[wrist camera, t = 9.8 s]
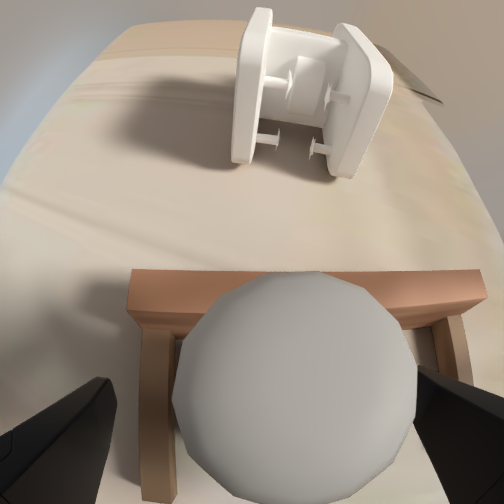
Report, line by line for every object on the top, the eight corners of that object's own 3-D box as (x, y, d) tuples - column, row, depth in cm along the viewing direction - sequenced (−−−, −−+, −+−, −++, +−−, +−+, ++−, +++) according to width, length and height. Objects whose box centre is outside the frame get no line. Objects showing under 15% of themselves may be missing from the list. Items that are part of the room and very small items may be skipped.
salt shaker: (196, 453, 13) (124, 564, 2) (190, 357, 16) (118, 216, 5) (301, 444, 14) (478, 487, 2) (291, 351, 16) (422, 216, 5)
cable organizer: (246, 91, 31) (255, 2, 21) (333, 106, 31) (358, 22, 21) (227, 177, 23) (236, 39, 13) (353, 196, 24) (409, 78, 14)
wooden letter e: (459, 442, 13) (508, 437, 9) (150, 491, 11) (124, 517, 7) (438, 299, 19) (479, 269, 15) (153, 306, 17) (132, 269, 13)
